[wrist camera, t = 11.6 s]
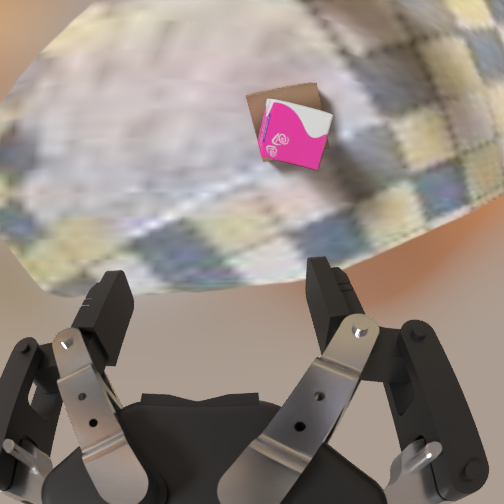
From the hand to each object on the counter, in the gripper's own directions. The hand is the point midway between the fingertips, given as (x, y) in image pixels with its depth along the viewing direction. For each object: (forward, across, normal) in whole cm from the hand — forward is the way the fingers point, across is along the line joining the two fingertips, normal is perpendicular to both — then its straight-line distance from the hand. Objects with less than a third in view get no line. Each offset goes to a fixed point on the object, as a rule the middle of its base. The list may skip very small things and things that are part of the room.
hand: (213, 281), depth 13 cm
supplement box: (+28, -7, -2) cm, 29 cm away
